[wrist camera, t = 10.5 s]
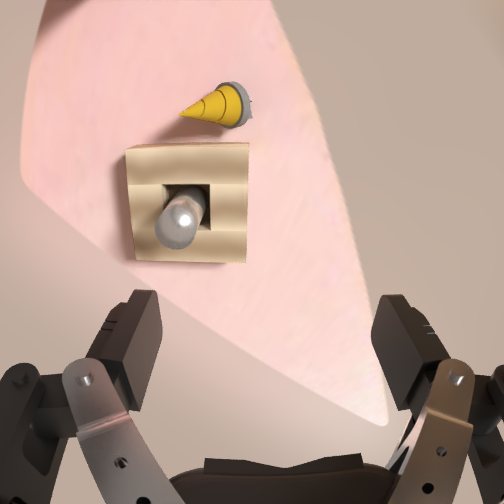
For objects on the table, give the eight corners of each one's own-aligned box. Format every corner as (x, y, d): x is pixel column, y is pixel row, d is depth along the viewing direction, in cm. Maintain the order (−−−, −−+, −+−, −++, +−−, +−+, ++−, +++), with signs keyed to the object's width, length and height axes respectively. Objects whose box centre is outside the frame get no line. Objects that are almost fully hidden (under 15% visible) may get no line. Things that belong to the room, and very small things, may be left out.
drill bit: (253, 131, 37) (182, 150, 32) (230, 99, 37) (160, 113, 32) (276, 104, 33) (201, 117, 27) (250, 70, 33) (175, 78, 27)
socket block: (136, 144, 37) (125, 150, 34) (249, 142, 37) (248, 147, 34) (145, 246, 43) (136, 260, 40) (246, 248, 44) (246, 263, 40)
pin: (175, 184, 39) (153, 211, 30) (208, 184, 39) (194, 211, 30) (177, 214, 40) (156, 249, 31) (208, 215, 40) (196, 250, 31)
